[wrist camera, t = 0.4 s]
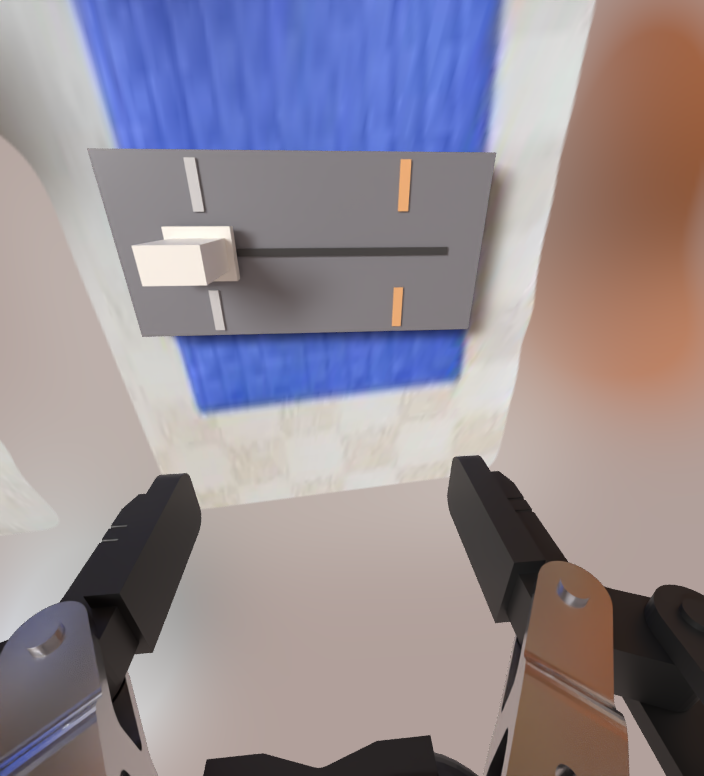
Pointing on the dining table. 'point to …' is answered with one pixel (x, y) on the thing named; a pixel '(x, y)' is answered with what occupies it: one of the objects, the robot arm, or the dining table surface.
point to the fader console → (305, 236)
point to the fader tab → (188, 257)
